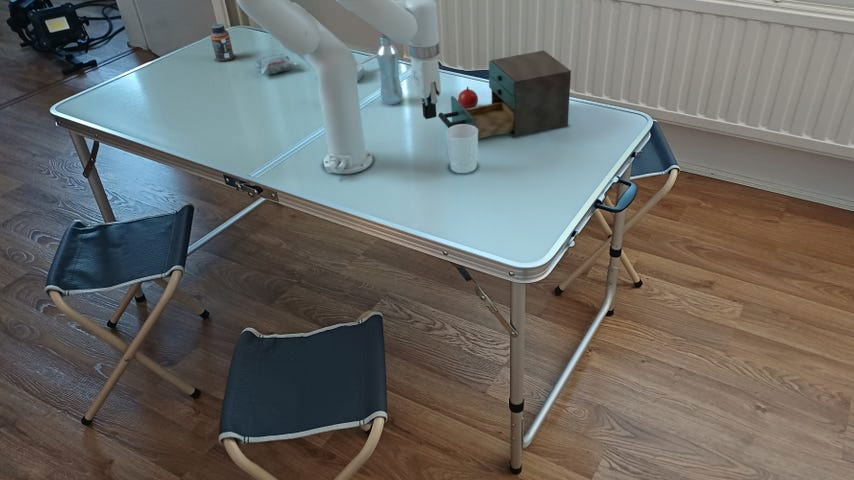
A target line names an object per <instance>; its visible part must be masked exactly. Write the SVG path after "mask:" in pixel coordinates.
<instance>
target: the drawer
mask: <svg viewBox="0 0 854 480" xmlns="http://www.w3.org/2000/svg"><path fill="white" fill-rule="evenodd" d="M450 104H451V107H450V108H451V112H447V113H444V112H439V113H438V115H437V117H438V118H439V119H440V120H441V122H442V123H443V124H444V126H445V127H447V129H448V128H450V127H451V126H454V125H459V124H468V125H472V126H474V127H476V128H477V129H478V140H480V139H483V138H489V137H492V136H493V137H494V136H497V135H501V134H506V133H510V132H511V131H514V111H513V110H512V109H511V108H510V107H509V106H508V105H507V104H506V103H505V102H504V101H503V102H498V103H493V104H492V103H489V104H484V105H479V106H475V107H474V108H469V109H465V108H464V107H463V106H462V105H461V104H460V103H459V102H458V99H457V98H456V97H455V96H454V95H451V96H450ZM449 118H451V120H449Z"/></svg>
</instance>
